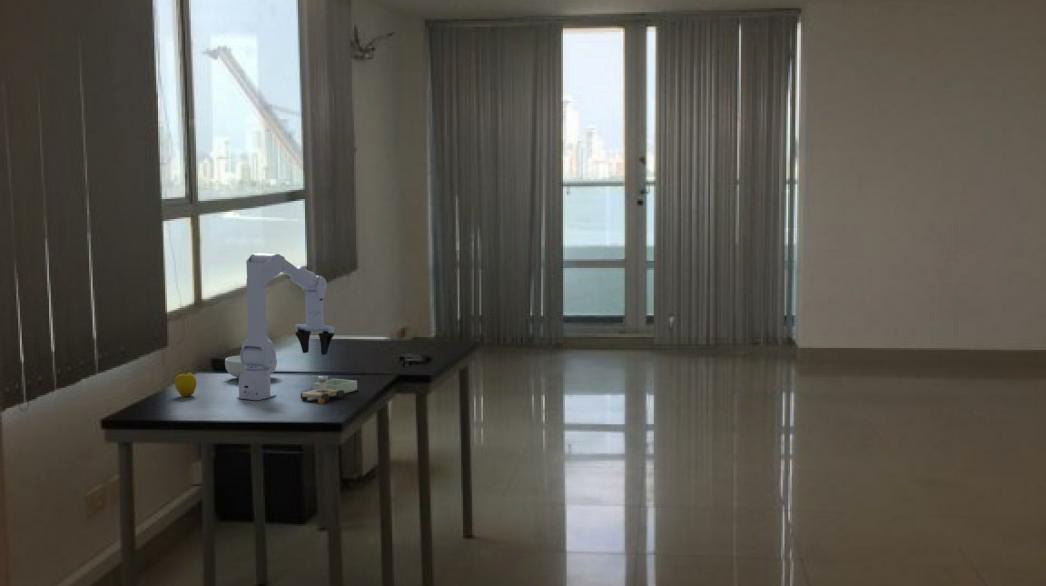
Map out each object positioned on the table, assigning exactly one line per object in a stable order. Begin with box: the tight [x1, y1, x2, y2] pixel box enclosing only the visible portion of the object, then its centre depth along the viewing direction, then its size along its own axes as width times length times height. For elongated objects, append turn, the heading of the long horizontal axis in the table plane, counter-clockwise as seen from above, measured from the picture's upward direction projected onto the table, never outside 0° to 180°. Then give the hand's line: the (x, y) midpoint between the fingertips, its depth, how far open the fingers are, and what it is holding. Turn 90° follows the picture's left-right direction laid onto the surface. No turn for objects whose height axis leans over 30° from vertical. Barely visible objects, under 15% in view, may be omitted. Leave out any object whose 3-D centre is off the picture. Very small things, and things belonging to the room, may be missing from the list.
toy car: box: [300, 388, 346, 405], centre depth 357 cm, size 12×9×3 cm
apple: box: [174, 370, 197, 398], centre depth 360 cm, size 6×6×8 cm
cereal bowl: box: [224, 355, 278, 379], centre depth 394 cm, size 17×17×7 cm
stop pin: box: [316, 375, 329, 392], centre depth 357 cm, size 3×3×7 cm
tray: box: [312, 378, 358, 394], centre depth 371 cm, size 11×9×3 cm
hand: (314, 353), depth 384 cm, fingers open, 7 cm apart
